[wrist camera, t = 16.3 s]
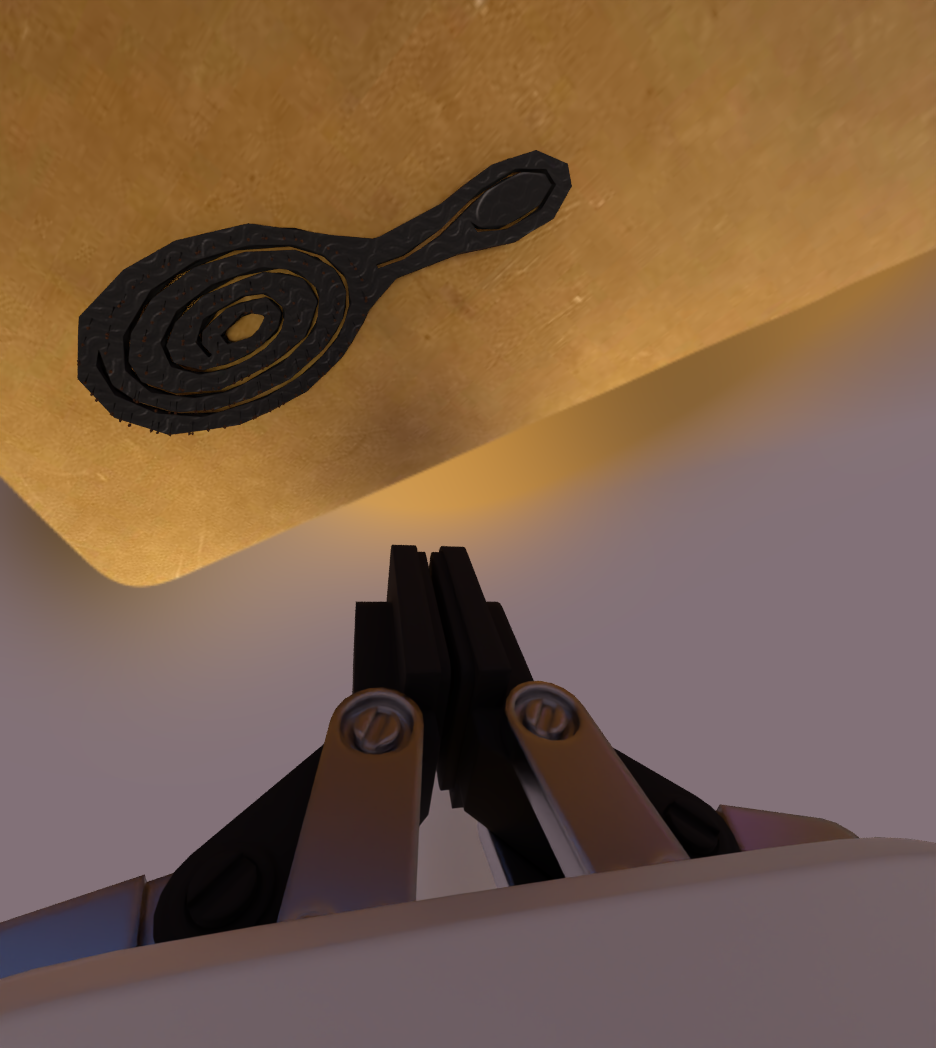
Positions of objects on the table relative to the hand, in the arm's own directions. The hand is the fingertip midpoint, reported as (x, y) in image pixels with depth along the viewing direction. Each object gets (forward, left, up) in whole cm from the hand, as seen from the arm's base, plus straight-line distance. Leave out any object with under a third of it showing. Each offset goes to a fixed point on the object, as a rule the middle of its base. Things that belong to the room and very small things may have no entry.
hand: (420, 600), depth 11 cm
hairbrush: (+6, +3, -19) cm, 20 cm away
